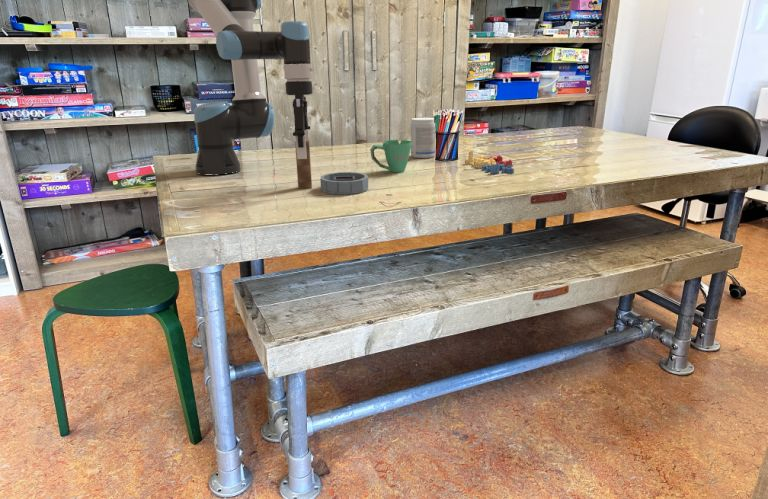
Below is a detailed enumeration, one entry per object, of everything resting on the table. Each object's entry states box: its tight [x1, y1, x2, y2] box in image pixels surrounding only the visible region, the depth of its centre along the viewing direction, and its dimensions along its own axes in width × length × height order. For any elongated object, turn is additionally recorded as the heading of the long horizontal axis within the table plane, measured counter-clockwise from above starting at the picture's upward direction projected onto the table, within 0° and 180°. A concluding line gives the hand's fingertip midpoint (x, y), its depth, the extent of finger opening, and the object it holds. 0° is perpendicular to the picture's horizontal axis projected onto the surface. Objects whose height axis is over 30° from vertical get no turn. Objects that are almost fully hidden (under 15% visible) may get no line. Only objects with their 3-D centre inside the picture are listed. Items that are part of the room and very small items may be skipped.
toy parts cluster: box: [464, 149, 515, 175], centre depth 200 cm, size 45×14×5 cm, turn 13°
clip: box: [334, 176, 355, 181], centre depth 161 cm, size 6×4×3 cm
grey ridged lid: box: [319, 171, 369, 196], centre depth 161 cm, size 14×14×4 cm
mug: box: [370, 139, 412, 173], centre depth 184 cm, size 15×10×10 cm
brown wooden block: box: [294, 140, 313, 190], centre depth 162 cm, size 4×2×14 cm, turn 94°
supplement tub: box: [410, 117, 436, 159], centre depth 211 cm, size 10×10×15 cm
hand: (303, 155), depth 161 cm, fingers open, 13 cm apart
